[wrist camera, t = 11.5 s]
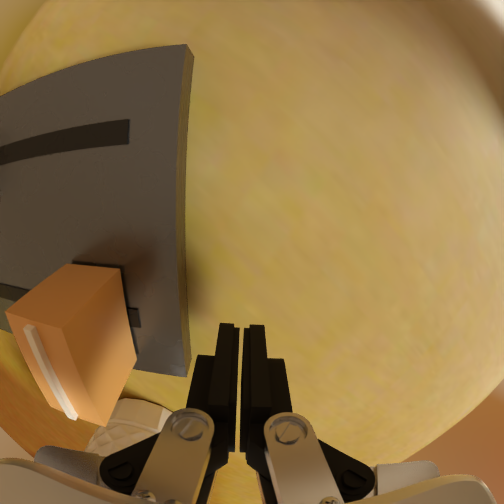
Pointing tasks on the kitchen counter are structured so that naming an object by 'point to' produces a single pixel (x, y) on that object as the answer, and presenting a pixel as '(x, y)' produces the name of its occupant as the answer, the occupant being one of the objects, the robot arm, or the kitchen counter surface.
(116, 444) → the white cup
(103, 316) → the block
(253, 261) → the kitchen counter surface
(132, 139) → the console board
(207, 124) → the kitchen counter surface
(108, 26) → the kitchen counter surface
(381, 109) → the kitchen counter surface
